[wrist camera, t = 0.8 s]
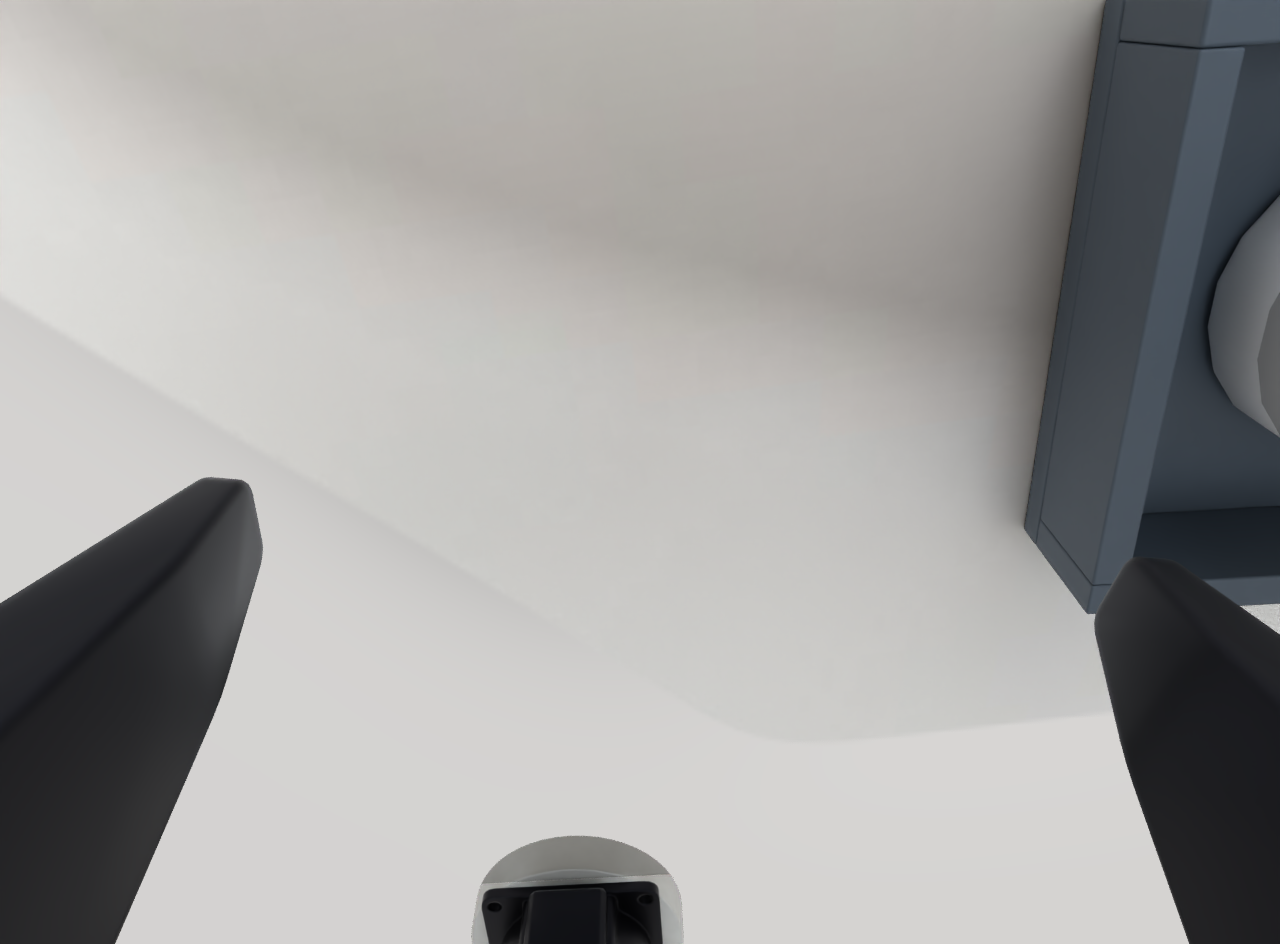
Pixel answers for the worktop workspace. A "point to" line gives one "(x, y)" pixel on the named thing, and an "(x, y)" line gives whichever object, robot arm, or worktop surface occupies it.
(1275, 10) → the bin
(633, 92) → the worktop surface
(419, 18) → the worktop surface
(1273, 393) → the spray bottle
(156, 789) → the robot arm
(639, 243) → the worktop surface
